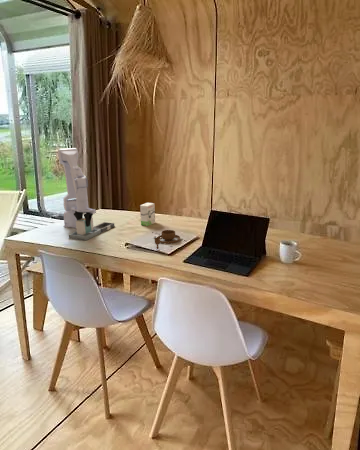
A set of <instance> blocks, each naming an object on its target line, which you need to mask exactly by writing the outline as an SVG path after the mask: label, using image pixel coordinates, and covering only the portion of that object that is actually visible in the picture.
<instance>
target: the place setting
mask: <svg viewBox="0 0 360 450" xmlns="http://www.w3.org/2000/svg"><path fill="white" fill-rule="evenodd" d="M160 233H161V235H157V236H158V237H157V238H154V244H155V245H156V250H157V249H159V248H160V247H159V245H160V244H164V243H166V244H167V245H168V244H169V245H170V244H171V243H172V244H176V243H178V242H180V241H181V236H180V235H178V234H176V231H175V230H173V229H165V230H161V232H160ZM160 237H162V238H161V239H163V240H161V239H160ZM174 239H176V240H174ZM160 242H161V243H160ZM166 244H165V245H166ZM170 248H173V246H172V245H170Z"/></svg>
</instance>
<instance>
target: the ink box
mask: <svg viewBox="0 0 360 450" xmlns="http://www.w3.org/2000/svg"><path fill="white" fill-rule="evenodd" d="M155 207H156V206H155V203H153V202H145V203H143V204H140V205H139V208H140V225H141V226H146V227H148V226H151V225H153V224H154V223H156V210H155V209H156V208H155Z"/></svg>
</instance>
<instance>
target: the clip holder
mask: <svg viewBox="0 0 360 450" xmlns="http://www.w3.org/2000/svg"><path fill="white" fill-rule="evenodd" d="M93 227H94V229H101V233H104V232H106V231H108V230H111V229H112V228H114V227H115V223H114V222H109V221H108V222H106V221H104V222H101V223H99V224H96V225H93Z"/></svg>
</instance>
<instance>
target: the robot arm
mask: <svg viewBox="0 0 360 450" xmlns="http://www.w3.org/2000/svg"><path fill="white" fill-rule="evenodd" d="M57 157H58V162H59V165H62V166H63V170H64V177H65V178H64V179H65V185H66V191H67V194H66V195H65V196H64V197H63V207H64V210H65V211H64V212H63V227H66V228H73V229H76V221H77V220H80V219H82V218H85V221H86V226H87V227H88V226H90V222H91V218H92V217H93V215H95V214H97V210H96V209H94V208H90V207H89V199H88V198H89V197H88V186H89V183H88V182H89V181H88V178H87V176H86V175H84V173H83V169H82V168H81V167H80V166H79V165H78V159H79V151H78V149H77V148H76V147H72V148H71V147H69V148H58V149H57Z"/></svg>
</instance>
